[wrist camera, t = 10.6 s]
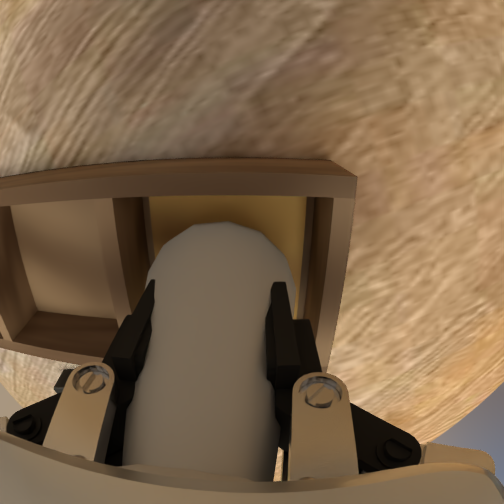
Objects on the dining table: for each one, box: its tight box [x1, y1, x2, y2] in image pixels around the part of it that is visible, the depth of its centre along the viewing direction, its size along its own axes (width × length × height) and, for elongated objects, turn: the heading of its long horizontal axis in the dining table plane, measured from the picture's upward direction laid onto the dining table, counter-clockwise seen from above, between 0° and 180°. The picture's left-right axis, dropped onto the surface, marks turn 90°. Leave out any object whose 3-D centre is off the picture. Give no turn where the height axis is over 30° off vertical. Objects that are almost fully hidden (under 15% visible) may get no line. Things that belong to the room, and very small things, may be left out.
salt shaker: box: [119, 221, 296, 482], centre depth 9 cm, size 6×6×13 cm
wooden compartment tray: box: [0, 157, 357, 373], centre depth 14 cm, size 10×27×4 cm, turn 89°
